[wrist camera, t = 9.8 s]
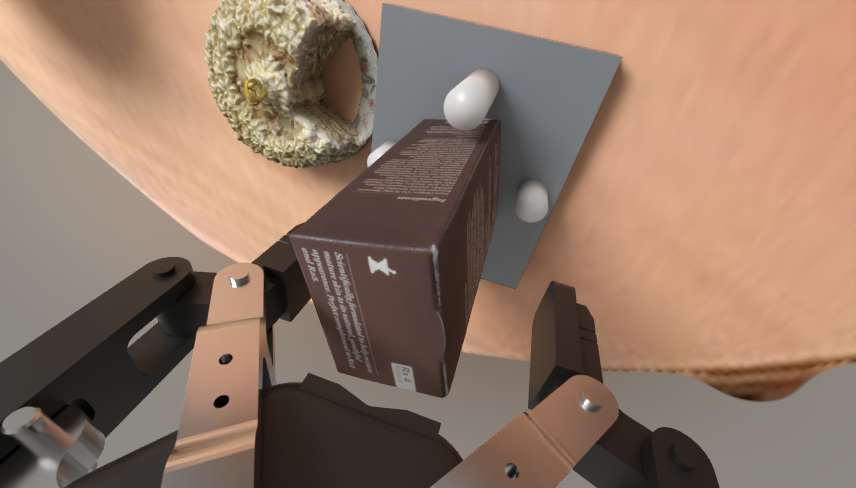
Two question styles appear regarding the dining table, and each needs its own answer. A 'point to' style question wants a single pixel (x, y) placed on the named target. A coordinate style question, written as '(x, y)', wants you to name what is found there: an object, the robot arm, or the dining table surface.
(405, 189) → the box
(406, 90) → the pin tray
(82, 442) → the robot arm
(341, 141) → the sea snail shell
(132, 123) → the dining table surface
